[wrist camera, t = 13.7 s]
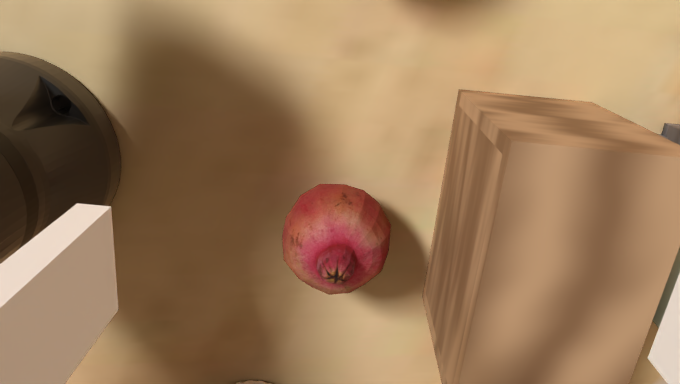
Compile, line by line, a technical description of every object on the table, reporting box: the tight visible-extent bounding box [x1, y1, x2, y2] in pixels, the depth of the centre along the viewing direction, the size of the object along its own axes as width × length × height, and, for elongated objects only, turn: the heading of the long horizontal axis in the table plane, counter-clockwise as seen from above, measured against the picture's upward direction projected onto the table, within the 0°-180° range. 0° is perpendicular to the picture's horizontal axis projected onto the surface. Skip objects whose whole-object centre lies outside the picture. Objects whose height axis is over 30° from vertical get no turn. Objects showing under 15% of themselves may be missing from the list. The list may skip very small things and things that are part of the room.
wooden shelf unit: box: [423, 90, 680, 384], centre depth 36 cm, size 22×18×14 cm
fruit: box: [282, 184, 391, 294], centre depth 38 cm, size 8×8×10 cm
